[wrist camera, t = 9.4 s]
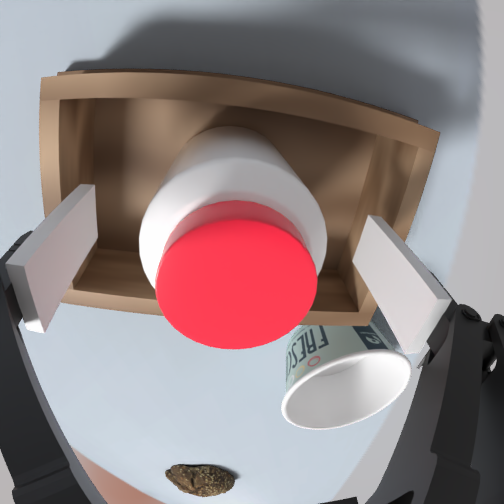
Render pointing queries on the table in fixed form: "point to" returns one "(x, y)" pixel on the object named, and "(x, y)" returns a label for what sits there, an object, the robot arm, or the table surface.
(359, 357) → the food container
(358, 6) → the table surface
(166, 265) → the pill bottle
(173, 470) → the bread roll
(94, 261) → the tray
